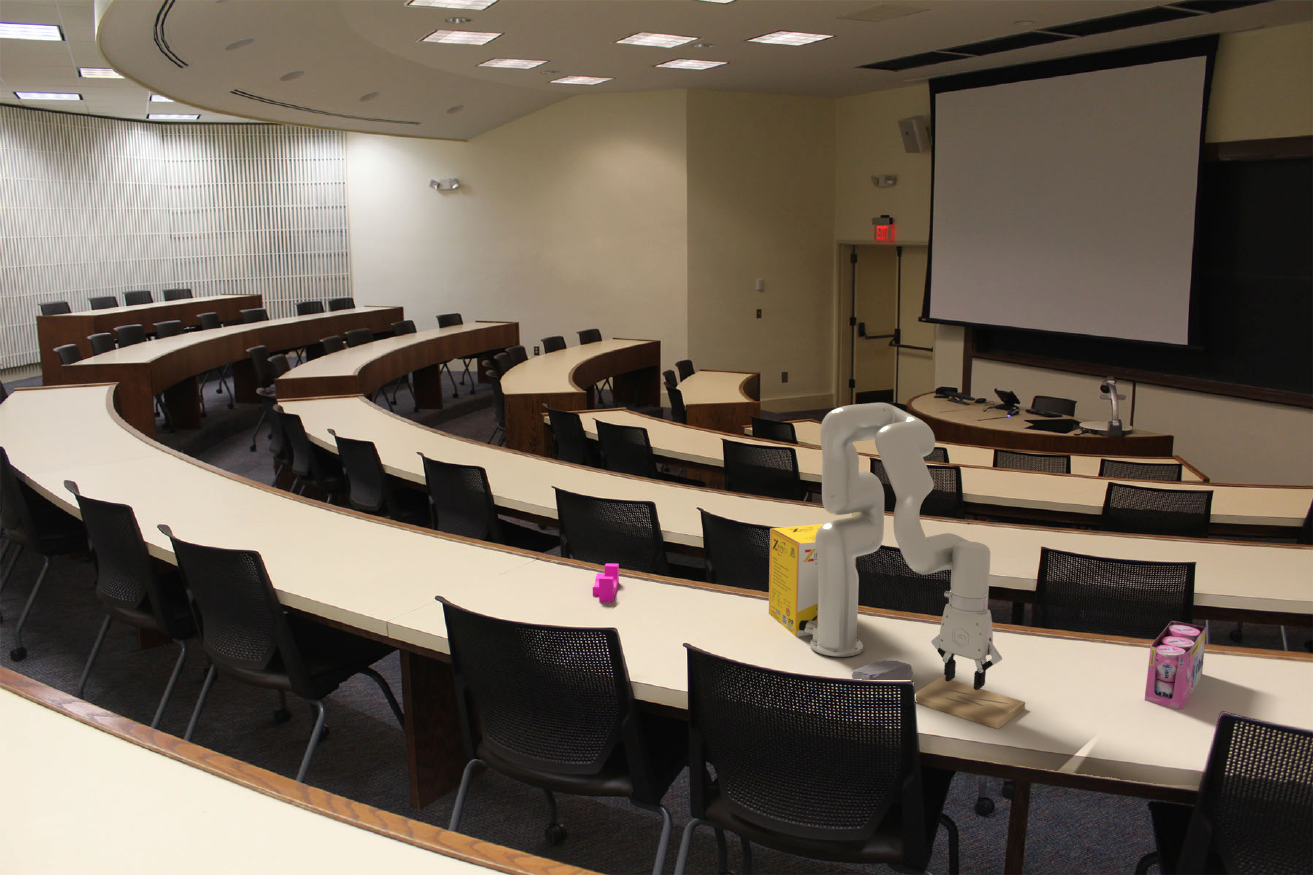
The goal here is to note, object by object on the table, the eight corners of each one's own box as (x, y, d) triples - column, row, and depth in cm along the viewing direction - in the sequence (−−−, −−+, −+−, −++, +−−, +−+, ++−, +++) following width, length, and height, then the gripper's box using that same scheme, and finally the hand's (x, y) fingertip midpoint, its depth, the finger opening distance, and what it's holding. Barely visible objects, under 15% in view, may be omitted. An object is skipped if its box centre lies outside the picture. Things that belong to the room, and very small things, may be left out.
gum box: (1180, 714, 198) (1186, 656, 196) (1141, 704, 203) (1146, 647, 201) (1202, 680, 215) (1207, 626, 213) (1166, 672, 220) (1170, 619, 218)
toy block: (597, 587, 283) (597, 563, 281) (618, 588, 282) (618, 563, 281) (590, 604, 268) (590, 578, 267) (612, 604, 267) (612, 578, 266)
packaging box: (823, 613, 260) (825, 523, 256) (853, 633, 244) (856, 538, 241) (768, 620, 255) (770, 528, 251) (796, 641, 239) (798, 543, 236)
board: (911, 701, 204) (911, 694, 204) (940, 683, 214) (940, 676, 213) (998, 728, 191) (998, 721, 191) (1024, 708, 201) (1025, 701, 201)
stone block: (886, 650, 220) (916, 665, 211) (886, 670, 221) (915, 686, 212) (844, 659, 215) (873, 675, 206) (844, 679, 215) (872, 696, 207)
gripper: (922, 596, 203) (918, 677, 206) (1001, 615, 191) (995, 701, 194) (938, 588, 208) (934, 667, 211) (1016, 606, 197) (1011, 690, 199)
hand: (964, 682), depth 203 cm, fingers open, 5 cm apart
